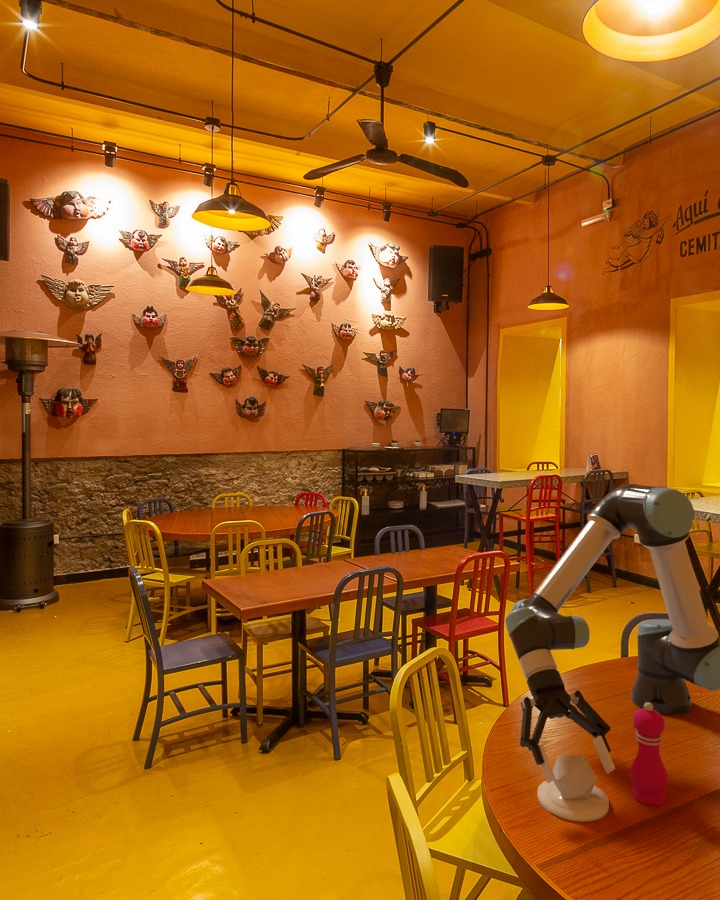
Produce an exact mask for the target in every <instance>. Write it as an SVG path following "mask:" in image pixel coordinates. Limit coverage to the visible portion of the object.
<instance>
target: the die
mask: <svg viewBox="0 0 720 900" xmlns="http://www.w3.org/2000/svg"><path fill="white" fill-rule="evenodd" d="M552 770H553V773H554V776H555V779H554V780H553V782H554V783H555V785H556V787H557V788H558V790H559V792H560V794H561V795H562V797H563V799H564V800H571V799H589V797H590V794H591V792H592V790H593V788H594V786H596V783H597V781H598V776H597V775H596V774H595V772H594V770H593V769H592V767H591V766H590V764H589V762H588V761H587V759H586V758H585V757H584V755H583V754H570V755H569V754H568V755H567V754H565V755H558V756H557V759H556V761H555V763H554V766H553V768H552Z"/></svg>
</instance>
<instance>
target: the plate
mask: <svg viewBox="0 0 720 900" xmlns="http://www.w3.org/2000/svg"><path fill="white" fill-rule="evenodd" d="M537 787H538V788H537V800H538V802H539V804H540V805H541V806H542V808H544V809H545V811H546V812H548V813H550V814H552V815H554V816H556V817H557V818H560V819H563V820H566V821H571V822H578V823H580V822H581V823H586V822H587V823H588V822H595V821H599V820H601V819H603V818H604V817H606V815H608V812H609V809H610V801H609V798H608V796H607V794H605V792H604V791H603V790H602V789H600V788H599V787H598V786H596V785H594V788H593V790H592V792H591V794H590V797H589V799H571V800H564V799H563V797H562V795H561V794H560V792H559V790H558V788H557V787H556V785H555V783H554V782H553V781H552V782H551V783H547V782H546V780H545V781H542V782H541V784H539V785H538V786H537Z"/></svg>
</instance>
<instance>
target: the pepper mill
mask: <svg viewBox="0 0 720 900" xmlns="http://www.w3.org/2000/svg"><path fill="white" fill-rule="evenodd" d="M632 723H633V726H634V728H635V729H636V730H635V739H636V740H637V743H638V748H637V749H638V750H637V753H636V756H635V758H634V760H633V762H632V763H631V766H630V770H629V771H630V773H629V777H630V779H631V782H632V783H633V784H632V796H633V797H634V799H635V800H637V801H638V802H640V803H642V804H644V805H647V806H655V807H657V806H659V807H660V806H662V805H664V804H665V803H666V800H667V799H666V797H667V795H666V793H667V792H666V790H665V789H666V788H667V787H668V785H669V775H668V773H667V770H666V766H665V765H664V762H663V760H662V757H661V754H660V746H661V744H662V743H663V740H662V739H663V735H662V733H663V732H664V731H665V726H666V724H665V719H664V717H663V716H662V715H661V713H658V712H657V711H655V710H653V705H652V704H651V703H649V702H647V703H645V704H644V708H642V707H641V708H640V709H637V710H636V711H635V712H634V714H633V716H632Z"/></svg>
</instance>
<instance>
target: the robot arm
mask: <svg viewBox="0 0 720 900" xmlns="http://www.w3.org/2000/svg"><path fill="white" fill-rule="evenodd" d="M693 521H695V509H694V506H693V504H692V502H691V500H690V499H689V497H688V496H687V495H686V494H685V493H683V492H682V491H680V490H678V489H675V488H670V487H666V486H653V485H652V486H651V485H641V484H635V483H629V484H624V485H621V486H618V487H616V488H615V489H613V490H611V491H610V492H608V493H607V494H606V495H605V496H604V497H603V498H602V499H600V501H599V502H597V504H596V505H595V506H594V507H593V508H592V510H591V511H590V512H589V514H587V523H586V524H585V525H584V527H583V528H582V529H581V530H580V532H579V533H578V534H577V536H576V537H575V538H574V539H573V541H572V542H571V544H569V546H568V547H567V549H566V550H565V551H564V552H563V554H562V556H561V557H560V558H559V559H558V560H557V562H556V563H555V565H554V566H553V567H552V568H551V570H550V571H549V572H548V573H547V575H546V577H545V578H544V579H543V580H542V582H541V583H540V584H539V586H538V587H537V588H536V590H535V591H534V592H533V593H532V595H531V596H530V597H529V598H527V599H526V598H525V599H520V600H518V601H516V602H515V604H514V605H513V607H512V610H511V611H510V612H509V613H508V614H507V616H506V617H505V619H504V620H505V625H506V627H505V628H506V630H507V633H508V637H509V638H510V641H511V644H512V645H513V649H514V651H515V654H516V657H517V659H518V663H519V665H520V667H521V670H522V673H523V676H524V678H525V679H526V684H527V687H528V689H529V692H530V695H531V696H532V698H530V697H529V696H525V697H524V699H523V700H522V701H521V702H520V706H521V709H522V716H521V717H522V719H521V729H520V730H521V731H520V740H519V745H520V746H521V748H525V747H526V748H527V749H528V750H529V751H530V752H531V753H532V756H533V759H534V761H535V764H536V765H537V766H540V767H541V770H542V774H543V776H544V779H545V781H546V782H547V783H551V782H552V781H553V780H554V779H555V776H554V773H553V768H552V765H551V763H550V759H549V757H548V755H547V751H546V749H545V748H546V747H544V744H540V740H541V737H542V734H543V731H544V729H545V726H546V724H547V721H548V718H549V719H550V720H553V719H556V718H559V719H561V718H564V717H566V718H567V719H570V720H572V721H573V722H574V723H575V724H576V725H578V726H579V727H580V728H581V729H583V730H584V731H585V732H587V733H588V734H590V735H591V736H592V737H594V739H593V740H592V743H593V744H594V747H595V749H596V752H597V755H598V756H599V760H600V762H601V764H602V766H603V769H604V771H605V773H606V774H610V773H611V772H612V771H614V770H615V769H616V767H615V765H614V762H613V760H612V757H611V755H610V752H612V751H611V747H610V745H609V743H608V740H607V738H606V735H607V734H608V733H610V731H611V727H610V725H609V724H608V723H607V722H606V721H605V719H603V718H602V717H601V716H600V714H598V712H597V711H596V710H595V709H594V708H593V707H592V706H591V705H590V703H588V701H587V700H586V699H585V698H584V695H583V694H582V691H580V690H576V691H575V692H573V693H568V692H567V691H566V687H565V683H564V681H563V678H562V676H561V673H560V671H559V670H558V666H557V663H556V661H555V659H554V656H553V654H552V652H551V651H560V650H562V651H563V650H574V649H580V648H584V647H586V646H587V645H588V644H589V641H590V637H591V635H590V633H591V632H590V628H589V624H588V623H587V621H586V620H585V619H584V618H583V617H582V616H579V615H578V616H577V615H572V614H571V615H568V616H567V615H566V616H565V615H562V614H560V613H558V612H559V611H560V610H561V608H562V607H563V606H564V604H565V602H567V601H568V599H569V598H570V597H571V595H572V594H573V592H574V591H575V590H576V588H577V587H578V586H579V584H580V583H581V582H582V580H583V579H584V578H585V576H586V575H587V574H588V572H589V571H590V570H591V568H592V567H593V566H594V565H595V563H596V562H597V561H598V559H599V558H600V557H601V555H602V554H603V553H604V551H605V550H606V549H607V547H608V546H609V545H610V544H611V542H612V541H613V540H615V539H616V540H617V539H619V538H620V537H621V536H622V534H623V533H624V532H625V531H627V530H630V529H631V530H636V532H637V537H638V540H639V542H640V544H641V546H643V547H644V548H647V549H648V550H649V554H650V557H651V561H652V564H653V567H654V571H655V575H656V578H657V582H658V584H659V588H660V591H661V595H662V599H663V601H664V605H665V609H666V612H667V616H668V618H667V619H666V618H654V619H646V620H645V619H644V620H643V621H640V622H639V624H638V627H637V628H638V629H637V634H636V636H637V673H636V677H635V681H634V685H633V686H632V689H631V701H632V702H633V703H634V704H635V705H636V706H638V707H640V708H641V709H642V708H644V704H645V703H647V702H649V703H651V704H652V705H653V710H655V711H657V712H658V713H659V714H666V715H681V714H685V713H688V712H690V710H691V709H692V697H691V695H690V693H689V689H688V686H687V682H686V681H688V682H689V683H691V684H694V685H695V686H697V687H699V688H703V689H706V690H709V691H720V635H719V632H718V631H717V629H716V627H713V626H712V625H710V623H709V620H708V617H707V614H706V609H705V608H704V607H705V606H704V603H703V600H702V597H701V592H700V589H699V586H698V583H697V579H696V575H695V572H694V569H693V565H692V561H691V558H690V555H689V552H688V548H687V544H686V541H687V540H688V539H689V537H690V531H691V529H692V528H693V526H694V523H693ZM571 702H572V703H571ZM574 704H575V705H574ZM534 708H536V709H537V710H538V711H539V713H538V717H537V720H536V724H535V727H534V729H533V733H532V736H531V728H532V717H533V709H534Z"/></svg>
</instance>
